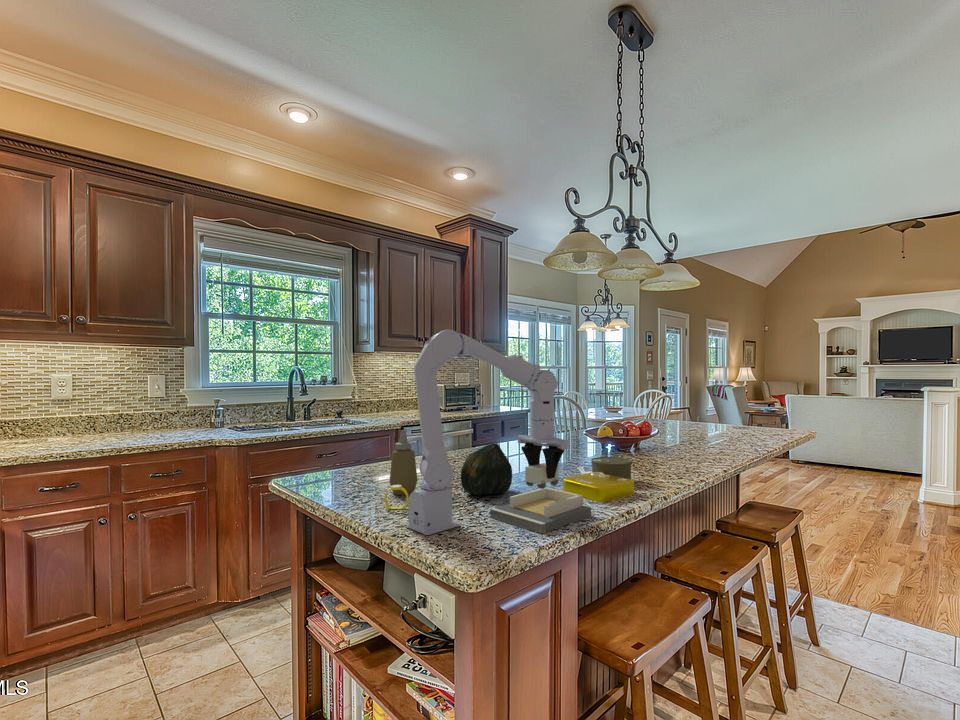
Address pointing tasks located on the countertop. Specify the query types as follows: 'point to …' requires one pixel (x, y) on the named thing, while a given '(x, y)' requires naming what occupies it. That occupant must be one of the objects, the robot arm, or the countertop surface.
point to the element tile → (599, 486)
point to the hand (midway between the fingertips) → (542, 476)
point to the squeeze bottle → (403, 466)
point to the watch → (396, 487)
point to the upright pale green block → (539, 476)
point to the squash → (486, 471)
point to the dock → (542, 510)
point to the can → (612, 466)
